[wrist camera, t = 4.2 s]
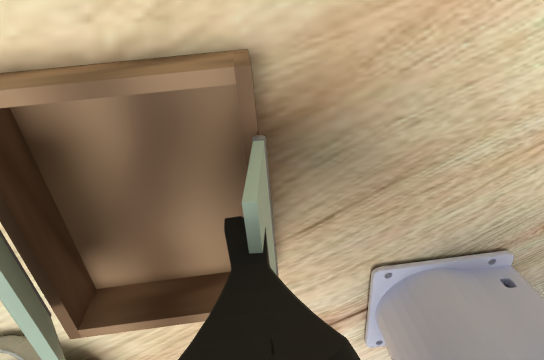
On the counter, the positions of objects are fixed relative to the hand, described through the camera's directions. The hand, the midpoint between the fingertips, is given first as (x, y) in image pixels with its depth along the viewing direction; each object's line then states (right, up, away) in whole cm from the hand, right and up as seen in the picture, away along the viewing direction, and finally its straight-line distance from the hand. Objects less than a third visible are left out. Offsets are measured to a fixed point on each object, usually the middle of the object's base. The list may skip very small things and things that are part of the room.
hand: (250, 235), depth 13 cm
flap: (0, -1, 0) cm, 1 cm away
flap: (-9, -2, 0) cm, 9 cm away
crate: (-5, +2, +5) cm, 7 cm away
